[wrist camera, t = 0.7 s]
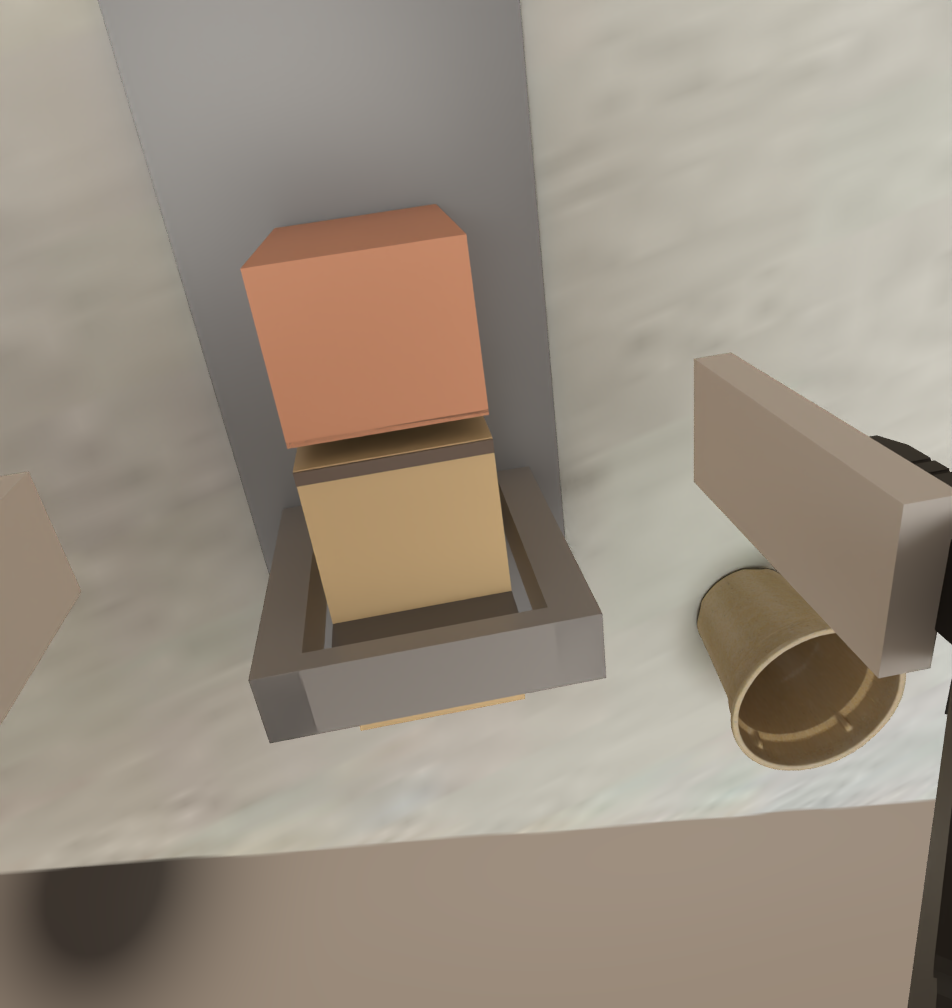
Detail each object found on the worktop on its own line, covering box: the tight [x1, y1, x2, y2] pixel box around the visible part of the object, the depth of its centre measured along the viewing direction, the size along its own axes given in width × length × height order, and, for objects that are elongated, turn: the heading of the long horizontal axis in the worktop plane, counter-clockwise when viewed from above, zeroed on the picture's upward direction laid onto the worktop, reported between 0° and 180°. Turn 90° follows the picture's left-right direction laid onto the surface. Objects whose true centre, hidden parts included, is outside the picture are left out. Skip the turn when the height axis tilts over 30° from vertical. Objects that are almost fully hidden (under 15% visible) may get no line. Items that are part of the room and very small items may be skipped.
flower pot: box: [697, 569, 906, 770], centre depth 43 cm, size 9×9×9 cm
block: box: [240, 204, 489, 449], centre depth 29 cm, size 7×6×10 cm
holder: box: [98, 0, 606, 743], centre depth 30 cm, size 16×32×14 cm, turn 7°
